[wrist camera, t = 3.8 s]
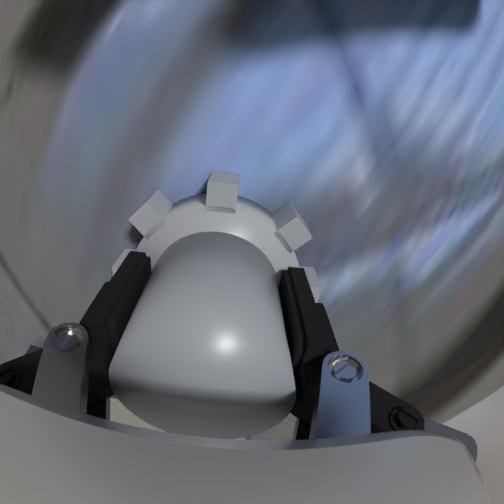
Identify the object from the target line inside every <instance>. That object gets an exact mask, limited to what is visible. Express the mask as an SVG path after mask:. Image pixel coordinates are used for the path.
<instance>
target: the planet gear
mask: <svg viewBox="0 0 504 504" xmlns="http://www.w3.org/2000/svg"><path fill="white" fill-rule="evenodd" d="M238 187H239V174H233V173H223V172H212V174H211V176H210V178H209V180H208V182H207V193H206V194H199V195H195V196H191V197H188V198H186V199H183V200H181V201H179V202H177V203H175V204H172V203H171V202H170V201H169V200H168V199H167V197H166V196H165V195H164V194H163V193H162V192H161V191H160V190H159V189H158V190H157V191H156V192H155V193H154V194H153V195H152V196H151V197H150V198H149V199H148V200H147V201H146V202H145V203H144V204H142V205H141V207H140V208H139V209H138V210H137V211H136V212H135V213H134V214H133V215H132V216H131V217H130V218H129V219H128V220H129V221H130V222H131V223H132V224H133V225H134V226H135V227H136V228H137V230H138V231H139V232H140V233H141V234H142V235H143V236H144V237H143V239H142V240H141V242H140V243H139V245H138V247H137V249H136V250H135V249H125V250H124V251H123V253H122V254H121V255H120V257H119V258H118V259H117V261H116V262H115V264H114V265H113V266H112V271H113V276H114V274H115V273H116V271H117V270H118V268H119V267H120V265H121V264H122V262H123V261H124V259H125V258H126V256H127V255H128V253H129V252H130V251H138V252H145V253H146V256H149V257H150V258H151V272H152V273H151V275H150V277H149V279H148V281H147V283H146V285H145V287H144V289H143V291H142V293H141V296H140V298H139V300H138V302H137V304H136V306H135V308H134V311H133V313H132V315H131V317H130V319H129V322H128V324H127V326H126V328H125V331H124V333H123V335H122V338H121V340H120V342H119V345H118V347H117V349H116V352H115V354H114V356H113V359H112V361H111V364H110V367H109V381H110V385H111V388H112V390H113V392H114V394H115V395H116V397H117V398H118V400H119V401H120V402H121V403H122V404H123V405H124V406H125V407H126V408H127V409H128V410H129V411H130V412H132V413H133V414H134V415H136V416H137V417H138V418H140V419H142V420H143V421H145V422H147V423H148V424H150V425H152V426H154V427H157V428H159V429H161V430H164V431H167V432H170V433H175V434H182V435H190V436H198V437H208V438H220V439H237V438H243V437H248V436H251V435H255V434H258V433H261V432H263V431H266V430H268V429H270V428H272V427H274V426H275V425H277V424H278V423H280V422H281V421H282V420H283V419H284V418H286V416H287V415H288V414H289V413H290V412H291V410H292V408H293V407H294V404H295V401H296V387H295V381H294V375H293V369H292V363H291V357H290V351H289V345H288V339H287V333H286V327H285V321H284V316H283V310H282V304H281V298H280V293H279V283H280V278H281V274H282V271H283V270H287V269H288V267H299V268H304V270H305V273H306V276H307V279H308V282H309V285H310V288H311V291H312V294H313V297H314V300H315V303H318V299H319V296H320V293H321V289H322V287H321V285H320V282H319V279H318V277H317V274H316V272H315V269H314V267H305V266H299V264H298V261H297V258H296V255H295V252H294V250H296V249H297V248H299V247H300V246H302V245H303V244H305V243H306V242H307V241H309V240H310V239H312V238H313V237H312V235H311V233H310V231H309V229H308V227H307V225H306V223H305V221H304V220H303V219H302V217H301V216H300V215H299V213H298V212H297V211H296V209H295V208H294V207H293V205H292V204H291V203H290V202H289V203H288V204H287V205H285V206H284V207H282V208H281V209H280V210H278V211H277V212H275V213H274V214H271V213H270V212H269V211H268V210H267V209H265V208H264V207H262V206H260V205H259V204H257V203H255V202H253V201H251V200H249V199H246V198H243V197H240V196H238Z"/></svg>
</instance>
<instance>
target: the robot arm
mask: <svg viewBox="0 0 504 504" xmlns="http://www.w3.org/2000/svg"><path fill="white" fill-rule="evenodd" d="M151 273H152V272H151V258H150V257H149V256H146V253H145V252H138V251H130V252H129V253H128V255H127V256H126V258H125V259H124V261H123V262H122V264H121V265H120V267H119V268H118V270H117V271H116V273H115V274H114V276H113V277H112V279H111V280H110V282H106V283H105V284H104V285H103V287H102V288H101V290H100V291H99V293H98V294H97V296H96V297H95V299H94V300H93V302H92V304H91V305H90V307H89V308H88V310H87V312H86V313H85V315H84V316H83V318H82V320H81V321H80V323H79V324H77V323H64V324H61V325H58V326H56V327H55V328H53V329H52V330H51V331H50V332H49V334H48V336H47V338H46V341H45V344H44V348H42V349H40V350H37V351H34V352H32V353H29V354H27V355H24V356H21V357H19V358H16V359H13V360H11V361H8V362H6V363H3V364H1V365H0V504H491V501H490V498H489V495H488V492H487V489H486V486H485V484H484V481H483V478H482V476H481V474H480V471H479V469H478V467H477V465H476V457H477V444H476V442H475V440H474V439H473V438H472V437H471V436H470V435H468V434H466V433H463V432H461V431H458V430H455V429H452V428H450V427H448V426H445V425H442V424H440V423H437V422H435V421H433V420H430V419H428V420H427V421H424V419H423V417H422V415H421V413H420V412H419V411H418V410H417V409H416V408H414V407H413V406H411V405H409V404H408V403H406V402H404V401H402V400H401V399H399V398H397V397H396V396H394V395H392V394H390V393H389V392H387V391H385V390H384V389H382V388H380V387H378V386H377V385H375V384H373V383H372V382H370V381H369V375H368V369H367V366H366V364H365V363H364V361H363V360H362V359H361V358H359V357H358V356H356V355H355V354H353V353H350V352H346V351H339V348H338V345H337V342H336V339H335V336H334V333H333V331H332V328H331V325H330V322H329V319H328V316H327V313H326V311H325V308H324V306H323V304H322V303H315V300H314V297H313V294H312V291H311V288H310V285H309V282H308V279H307V276H306V273H305V270H304V268H299V267H288V269H287V270H283V271H282V274H281V278H280V283H279V293H280V298H281V304H282V310H283V316H284V321H285V327H286V333H287V339H288V345H289V351H290V357H291V363H292V369H293V375H294V381H295V387H296V401H295V404H294V407H293V408H292V410H291V414H293V415H294V416H295V417H297V419H296V425H295V430H294V435H293V440H282V441H264V440H235V439H220V438H208V437H198V436H190V435H182V434H175V433H168V432H162V431H156V430H151V429H145V428H140V427H136V426H131V425H126V424H122V423H118V422H113V421H110V397H111V396H113V395H115V394H114V392H113V390H112V388H111V385H110V381H109V367H110V364H111V361H112V359H113V356H114V354H115V352H116V349H117V347H118V345H119V342H120V340H121V338H122V335H123V333H124V331H125V328H126V326H127V324H128V322H129V319H130V317H131V315H132V313H133V311H134V308H135V306H136V304H137V302H138V300H139V298H140V296H141V293H142V291H143V289H144V287H145V285H146V283H147V281H148V279H149V277H150V275H151Z"/></svg>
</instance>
